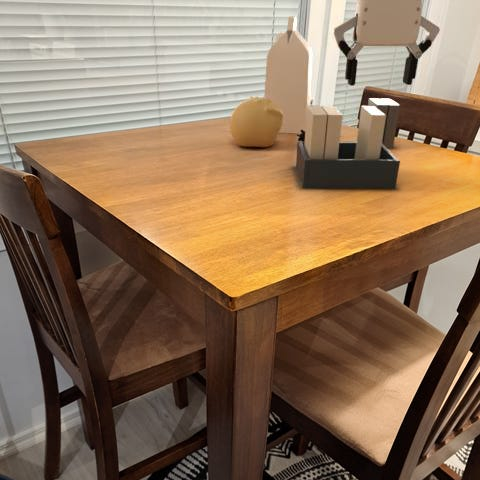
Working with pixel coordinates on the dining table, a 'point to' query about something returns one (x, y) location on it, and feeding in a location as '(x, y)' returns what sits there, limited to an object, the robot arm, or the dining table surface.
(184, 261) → the dining table surface
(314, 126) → the white book
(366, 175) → the book box
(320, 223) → the dining table surface
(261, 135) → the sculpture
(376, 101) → the grey book
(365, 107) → the white book
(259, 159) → the dining table surface
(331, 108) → the white book
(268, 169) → the dining table surface
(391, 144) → the grey book
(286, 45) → the milk
